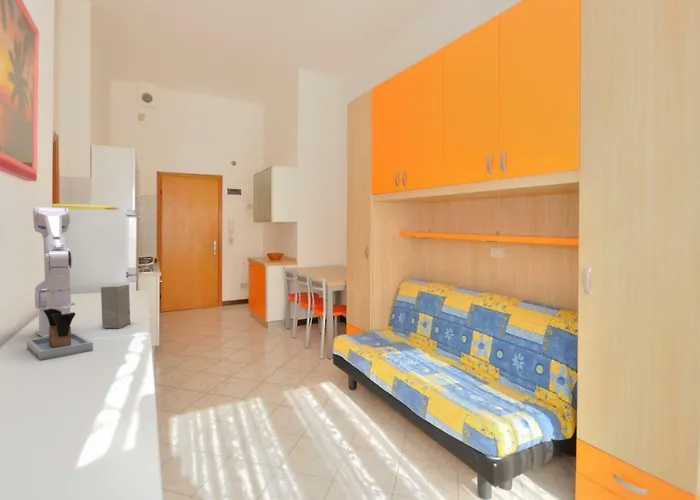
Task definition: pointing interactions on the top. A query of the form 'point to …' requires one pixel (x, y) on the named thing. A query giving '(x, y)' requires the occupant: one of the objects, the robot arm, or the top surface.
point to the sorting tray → (46, 352)
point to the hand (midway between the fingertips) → (59, 333)
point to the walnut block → (58, 338)
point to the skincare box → (115, 305)
